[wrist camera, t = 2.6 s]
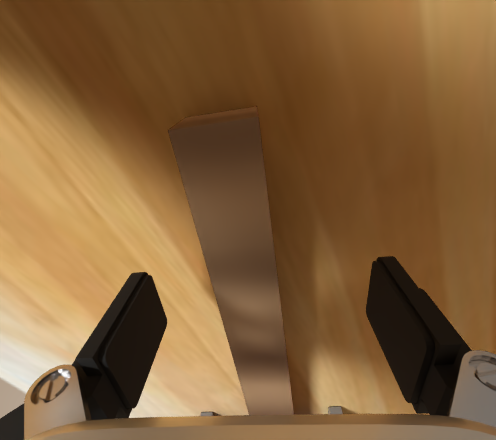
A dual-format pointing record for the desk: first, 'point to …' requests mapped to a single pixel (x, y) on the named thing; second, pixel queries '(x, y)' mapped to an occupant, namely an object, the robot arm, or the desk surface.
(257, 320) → the rod
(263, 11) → the desk surface
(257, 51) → the desk surface
